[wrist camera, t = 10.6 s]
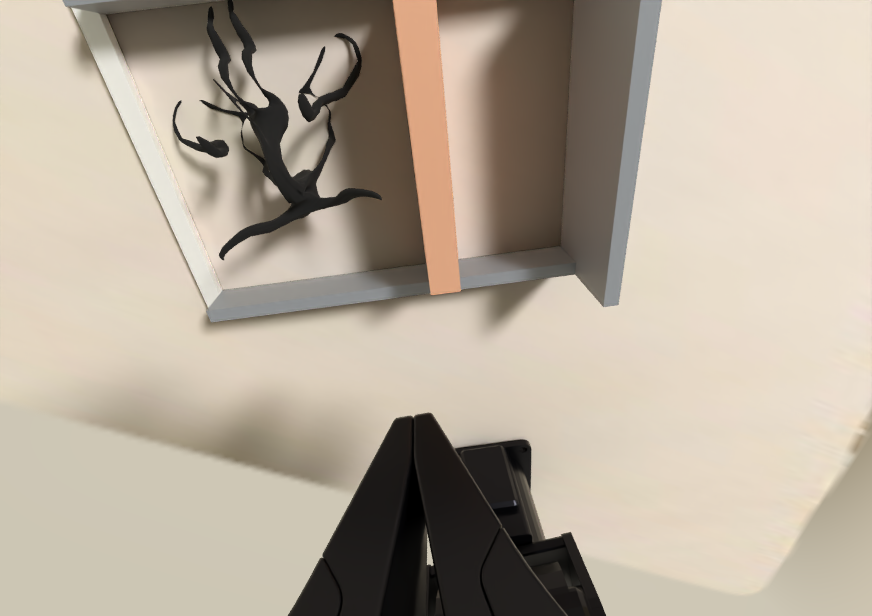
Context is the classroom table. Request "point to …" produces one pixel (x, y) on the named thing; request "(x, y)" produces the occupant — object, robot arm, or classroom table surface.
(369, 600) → the robot arm
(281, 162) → the creature
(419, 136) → the tall tan plank
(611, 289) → the frame
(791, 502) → the classroom table surface
